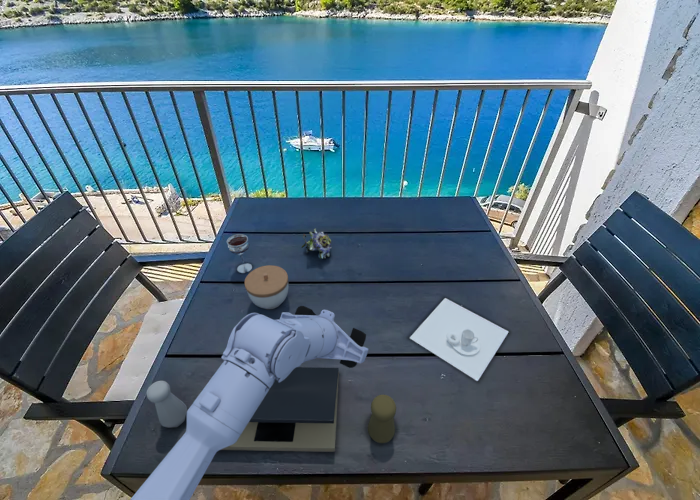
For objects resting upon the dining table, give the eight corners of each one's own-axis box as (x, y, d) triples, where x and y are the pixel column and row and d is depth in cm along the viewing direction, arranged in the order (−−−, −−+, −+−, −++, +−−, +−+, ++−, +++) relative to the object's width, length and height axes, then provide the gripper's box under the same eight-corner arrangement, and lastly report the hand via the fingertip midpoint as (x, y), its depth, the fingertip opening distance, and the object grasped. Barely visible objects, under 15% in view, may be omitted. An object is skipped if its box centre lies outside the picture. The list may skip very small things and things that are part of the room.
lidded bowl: (296, 308, 105) (292, 282, 98) (254, 321, 101) (246, 294, 94) (285, 281, 114) (281, 256, 107) (246, 292, 110) (239, 266, 103)
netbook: (334, 451, 73) (334, 448, 72) (212, 449, 74) (210, 445, 73) (338, 374, 88) (338, 370, 86) (236, 373, 88) (234, 369, 87)
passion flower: (327, 267, 128) (329, 259, 116) (298, 262, 127) (297, 253, 116) (332, 238, 131) (335, 228, 120) (304, 233, 130) (303, 222, 119)
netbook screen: (333, 424, 69) (333, 420, 69) (203, 422, 70) (203, 418, 69) (338, 370, 86) (338, 367, 86) (234, 369, 87) (234, 366, 87)
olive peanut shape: (372, 446, 74) (373, 421, 67) (364, 418, 79) (365, 393, 72) (398, 439, 75) (403, 414, 68) (389, 412, 80) (393, 386, 73)
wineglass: (243, 259, 123) (235, 232, 116) (258, 264, 121) (252, 237, 113) (230, 271, 118) (221, 243, 111) (246, 276, 116) (238, 248, 109)
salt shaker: (184, 432, 77) (163, 402, 69) (158, 432, 77) (135, 401, 69) (193, 406, 81) (175, 375, 73) (169, 406, 82) (149, 375, 73)
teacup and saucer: (442, 343, 95) (444, 333, 92) (456, 325, 99) (458, 316, 97) (472, 361, 90) (475, 352, 88) (485, 342, 95) (489, 332, 92)
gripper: (362, 332, 45) (388, 326, 57) (273, 292, 50) (314, 295, 63) (343, 384, 45) (373, 367, 57) (256, 339, 50) (301, 332, 63)
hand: (342, 332), depth 60 cm, fingers open, 7 cm apart
